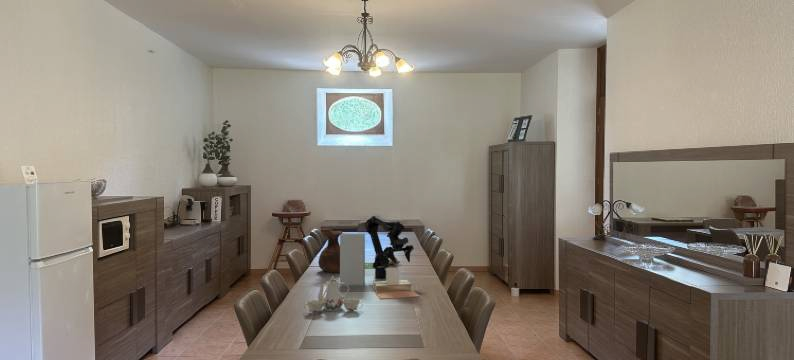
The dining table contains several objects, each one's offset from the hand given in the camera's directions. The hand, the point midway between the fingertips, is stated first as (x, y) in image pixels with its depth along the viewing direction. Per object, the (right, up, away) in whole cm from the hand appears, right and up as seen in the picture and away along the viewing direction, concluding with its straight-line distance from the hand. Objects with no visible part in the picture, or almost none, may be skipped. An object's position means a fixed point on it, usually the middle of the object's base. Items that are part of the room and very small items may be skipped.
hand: (402, 262), depth 298 cm
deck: (-6, -14, -7) cm, 17 cm away
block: (-6, -10, -9) cm, 15 cm away
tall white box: (-30, -14, +7) cm, 34 cm away
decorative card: (-16, -13, +62) cm, 65 cm away
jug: (-46, -13, +43) cm, 64 cm away
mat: (-3, -15, -19) cm, 24 cm away
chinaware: (-35, -16, -49) cm, 62 cm away
